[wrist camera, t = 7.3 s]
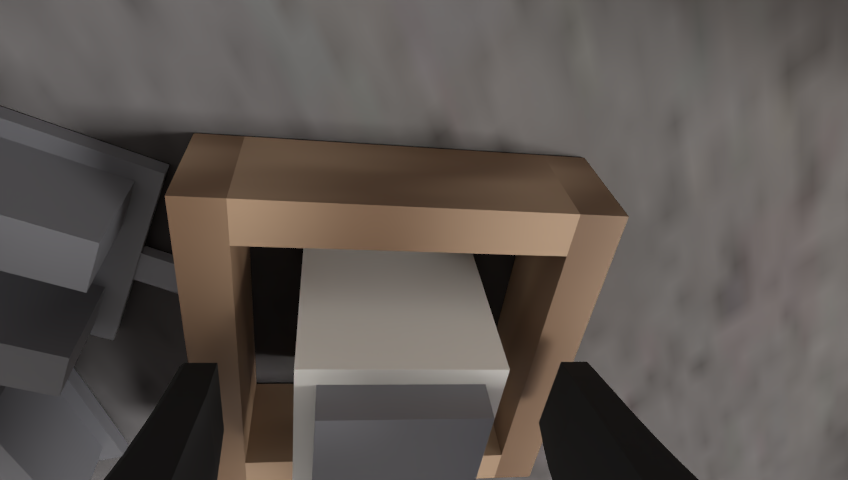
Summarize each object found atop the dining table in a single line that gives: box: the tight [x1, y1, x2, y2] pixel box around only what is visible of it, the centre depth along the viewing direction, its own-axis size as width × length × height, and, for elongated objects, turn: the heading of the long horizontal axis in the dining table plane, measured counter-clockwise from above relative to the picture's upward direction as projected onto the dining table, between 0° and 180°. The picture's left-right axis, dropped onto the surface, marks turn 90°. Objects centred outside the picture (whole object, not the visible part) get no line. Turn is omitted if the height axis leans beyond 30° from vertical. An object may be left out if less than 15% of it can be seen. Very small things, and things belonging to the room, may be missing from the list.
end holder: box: [165, 133, 629, 480], centre depth 14 cm, size 8×8×2 cm
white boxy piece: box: [292, 248, 510, 480], centre depth 13 cm, size 4×4×5 cm
